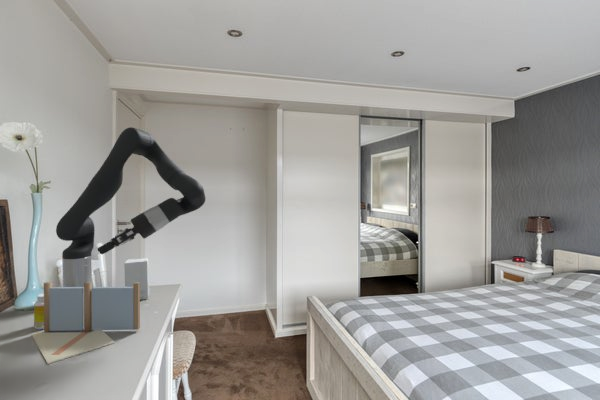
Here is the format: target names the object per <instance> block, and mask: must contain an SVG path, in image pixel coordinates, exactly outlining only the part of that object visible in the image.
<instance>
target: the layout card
mask: <svg viewBox="0 0 600 400" xmlns="http://www.w3.org/2000/svg"><path fill="white" fill-rule="evenodd" d="M31 336H32V338H33V340H34V342H35V343H36V345H37V348H39V351H40V353H41V354H42V356H43V358H44V359H45V361H46V363H47V365H50V364H53V363H56V362H60V361H63V360H66V359H68V358H73V357H76V356H77V355H81V354H85V353H87V352H90V351H94V350H97V349H99V348H103V347H106V346H109V345H112V344H114V343H115V341H114V340H113V339H112V338H111V337H110V336H109V335H108V334H107V333H106V332H105V330H91V331H89V332H84V329H83V330H70V331H50V332H48V333H45V332H44V330H42V331H38V332H34V333H31Z"/></svg>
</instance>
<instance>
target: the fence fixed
mask: <svg viewBox="0 0 600 400" xmlns="http://www.w3.org/2000/svg"><path fill="white" fill-rule="evenodd" d="M91 288H93V282H85V283H84V287H63V286H56V287H55V286H53V282H52V281H46V282H44V283H43V293H44V329H43V331H44V332H45V333H48V332H50V331H70V330H83V329H84V332H89V331H91V330H92V289H91Z"/></svg>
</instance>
